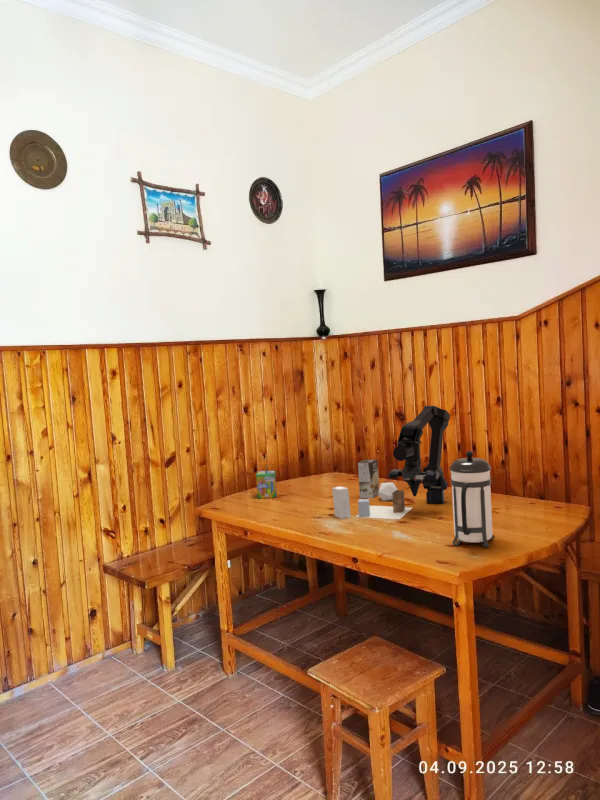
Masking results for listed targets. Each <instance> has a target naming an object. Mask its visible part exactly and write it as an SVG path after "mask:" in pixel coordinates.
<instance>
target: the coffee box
mask: <svg viewBox="0 0 600 800" xmlns="http://www.w3.org/2000/svg"><path fill="white" fill-rule="evenodd" d="M378 463H379V462H378V459H375V458H374V459H373V458H372V459H364V460H361V461H359V462H357V468H358V487H359V490H358V491H359V499H375V497H377V496H379V495H378V492H379V488H380V482H379V480H380V479H379V464H378Z"/></svg>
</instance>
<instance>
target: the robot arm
mask: <svg viewBox="0 0 600 800" xmlns="http://www.w3.org/2000/svg"><path fill="white" fill-rule="evenodd" d="M450 419H451V415H450V413H449V412H448V410H446V409H442V408H439V407H438V406H436V405H424V406H423V408H422V410H421V411H420V412H419V413H418V414H417V416H416V417H415V418H414V419H413V420H412V421H409V422H406V423H405V424H403V425H402V427H401V429H400V431H399V434H398V435H399V436H398V439H397V446H396V447H394V449H393V452H392V455H393V457H394V459H395V460H396V461H399V462H401V461H402V462H403V461H404V466H403V468H401V469H399V468H398V469H397V468H396V469H395V468H394V469H392V470H390V471H389V473H388V479H389V480H390V479H392V480H397V479H398V478H399V477H402V478H403V479H402V480H403V482H405V483H407V485H408V486H409V488H410V490H411V493H412V496H413V497H417V494H418V491H419V488H420V485H421V484H422V486H423V489H424V490H427V492H425V493H426V494H425V495H426V498H425V499H426V504H429V505H444V503H445V502H446V500H445V491H447V490H448V482H447V480H446V478H445V476H444V471H443V469H442V467H441V460H442V453H443V452H442V450H443V439H444V432H445V431H446V429H447V428H448V426H449V423H450V422H449V421H450ZM427 425H429V428H430V430H431V433H430V444H429V454H428V464H427V465H426V466H424V467H423V469H422V466H421V465H422V464H421V463H422V462H421V461H422V458H421V448H420V447H421V446H420V445H421V444H422V441H421V439H422V436H423V435H424V431H423V429H424V428H425V426H427Z"/></svg>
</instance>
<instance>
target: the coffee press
mask: <svg viewBox="0 0 600 800" xmlns="http://www.w3.org/2000/svg"><path fill="white" fill-rule="evenodd" d="M465 456H466V457H463V458H461V457H460V458H458V459H455V460H453V461H452V463H451V465H450V466H449V470H450V473H451V474H450V475H451V478H450V484H451V494H452V514H453V531H454V532H453V533H454V534H453V535H454V538H453V540H452V545H454V546H456V547H458V546H459V544H460V543H462V542H464V543H465V542H466V543H480V544H481V546H482V548H483V547H485V548H484V549H487V547H488V548H489V547H490V543H489V540H491V538H493V540H495V536H494V534H493V516H492V514H493V513H492V497H491V496H492V492H491V485H492V478H491V470H492V466H491V465H490V464H489V462H488V461H487V460H486V459H483V458H480V457H473V456H474V452H472V451H471V450H468V451H466V453H465Z"/></svg>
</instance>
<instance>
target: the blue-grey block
mask: <svg viewBox="0 0 600 800" xmlns="http://www.w3.org/2000/svg"><path fill="white" fill-rule="evenodd" d="M357 504H358V506H357V507H358V514H359V517H358V518H368V517H369V516H370V506H371V505H370V498H359V499H358V501H357Z"/></svg>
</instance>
